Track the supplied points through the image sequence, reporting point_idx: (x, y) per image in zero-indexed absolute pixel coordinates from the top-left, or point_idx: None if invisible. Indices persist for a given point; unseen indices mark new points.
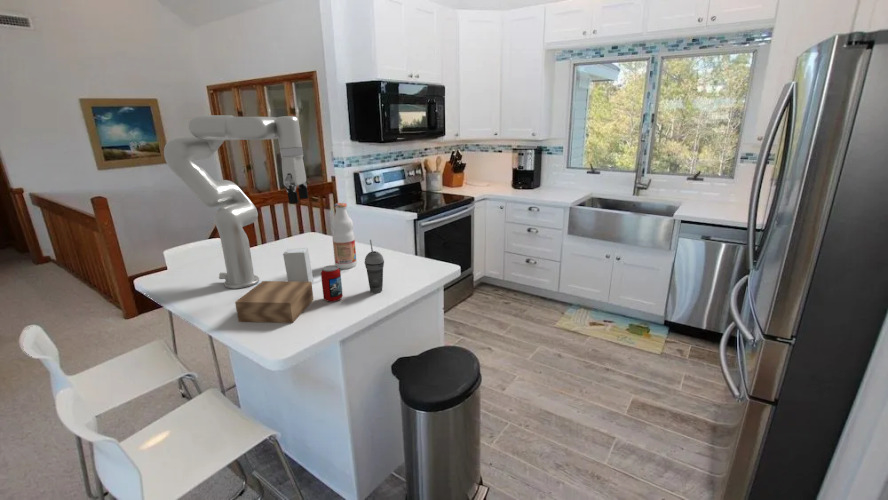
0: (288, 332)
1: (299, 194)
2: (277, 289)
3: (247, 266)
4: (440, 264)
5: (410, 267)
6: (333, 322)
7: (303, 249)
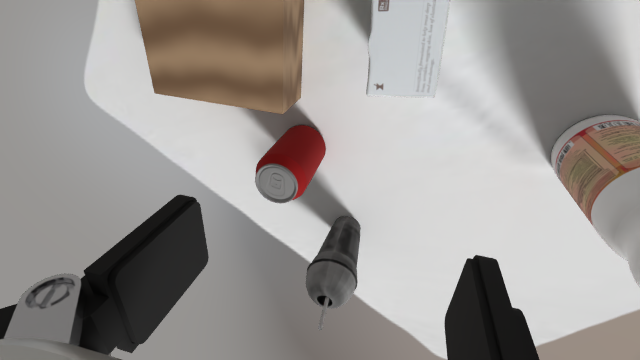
0: None
1: (476, 299)
2: (219, 26)
3: None
4: None
5: None
6: (203, 157)
7: (407, 83)
